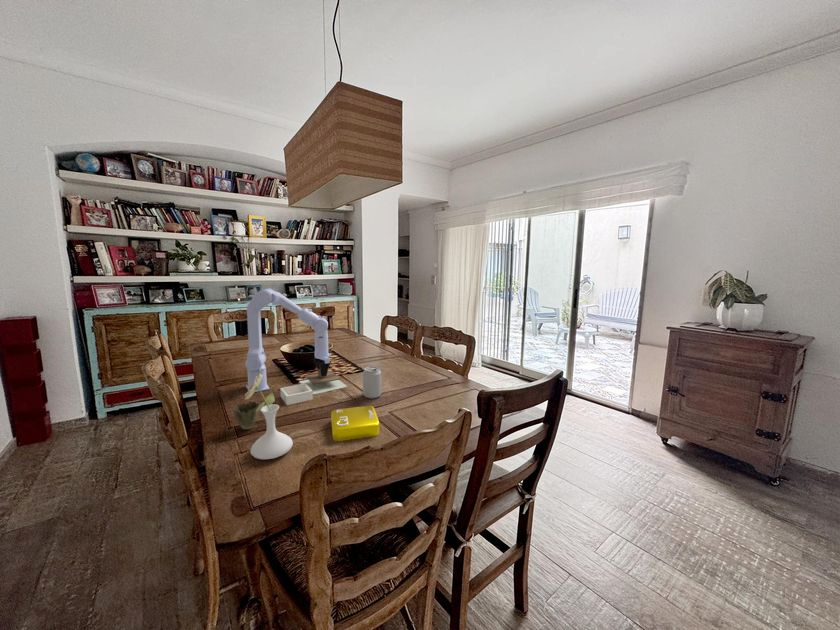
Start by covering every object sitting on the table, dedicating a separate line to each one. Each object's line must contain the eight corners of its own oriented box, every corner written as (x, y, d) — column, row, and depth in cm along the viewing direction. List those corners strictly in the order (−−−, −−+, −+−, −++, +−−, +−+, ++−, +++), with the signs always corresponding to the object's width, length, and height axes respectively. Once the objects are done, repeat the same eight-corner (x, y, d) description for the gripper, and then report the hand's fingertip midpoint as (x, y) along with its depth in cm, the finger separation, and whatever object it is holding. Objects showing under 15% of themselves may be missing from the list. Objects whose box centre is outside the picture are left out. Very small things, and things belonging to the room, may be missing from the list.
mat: (299, 382, 150) (299, 381, 150) (332, 375, 160) (332, 374, 159) (311, 395, 136) (311, 394, 136) (347, 387, 145) (347, 386, 145)
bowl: (280, 397, 134) (280, 388, 133) (305, 392, 139) (305, 383, 139) (287, 406, 126) (286, 396, 125) (312, 400, 131) (312, 390, 131)
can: (377, 400, 132) (377, 372, 131) (360, 398, 134) (360, 370, 132) (383, 393, 140) (383, 366, 138) (366, 391, 141) (366, 364, 139)
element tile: (380, 436, 106) (380, 423, 105) (332, 443, 102) (332, 429, 101) (373, 415, 120) (373, 403, 119) (331, 420, 116) (330, 408, 115)
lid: (305, 376, 149) (304, 368, 148) (330, 371, 155) (330, 363, 155) (313, 384, 139) (313, 375, 138) (340, 379, 146) (340, 370, 145)
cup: (233, 435, 104) (231, 412, 103) (236, 425, 111) (234, 403, 109) (259, 431, 107) (258, 408, 106) (260, 421, 114) (259, 399, 112)
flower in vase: (270, 438, 103) (265, 362, 99) (301, 445, 100) (297, 366, 96) (236, 462, 91) (229, 377, 86) (270, 470, 87) (264, 382, 83)
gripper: (336, 347, 141) (337, 377, 143) (324, 340, 153) (325, 368, 155) (320, 350, 137) (321, 380, 139) (309, 342, 149) (310, 371, 151)
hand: (322, 374), depth 147 cm, fingers closed on lid, 4 cm apart
